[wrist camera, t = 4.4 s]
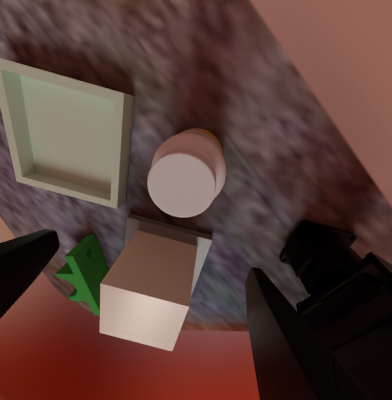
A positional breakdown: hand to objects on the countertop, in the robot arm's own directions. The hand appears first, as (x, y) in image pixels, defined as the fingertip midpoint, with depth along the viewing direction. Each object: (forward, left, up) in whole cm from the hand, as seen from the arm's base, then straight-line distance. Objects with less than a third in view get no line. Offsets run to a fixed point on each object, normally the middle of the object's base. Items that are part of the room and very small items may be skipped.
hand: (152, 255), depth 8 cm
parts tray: (+13, 0, -13) cm, 18 cm away
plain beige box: (+1, +13, -13) cm, 18 cm away
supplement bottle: (0, -2, -13) cm, 13 cm away
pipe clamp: (+11, +18, -13) cm, 25 cm away
